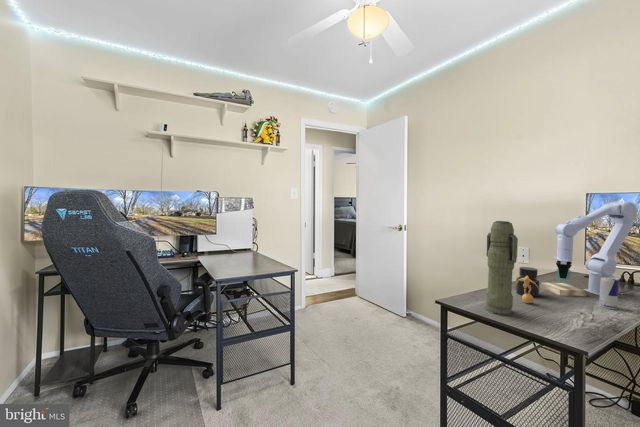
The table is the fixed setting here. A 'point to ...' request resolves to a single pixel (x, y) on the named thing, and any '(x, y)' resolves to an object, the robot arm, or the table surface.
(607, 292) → the energy drink
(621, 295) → the table surface
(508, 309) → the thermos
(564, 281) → the teal cube
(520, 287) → the ink bottle
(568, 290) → the birch block
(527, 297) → the figurine
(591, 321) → the table surface
